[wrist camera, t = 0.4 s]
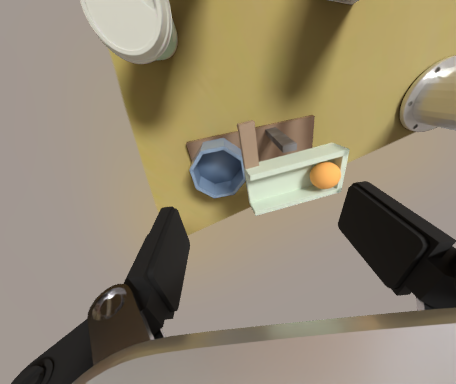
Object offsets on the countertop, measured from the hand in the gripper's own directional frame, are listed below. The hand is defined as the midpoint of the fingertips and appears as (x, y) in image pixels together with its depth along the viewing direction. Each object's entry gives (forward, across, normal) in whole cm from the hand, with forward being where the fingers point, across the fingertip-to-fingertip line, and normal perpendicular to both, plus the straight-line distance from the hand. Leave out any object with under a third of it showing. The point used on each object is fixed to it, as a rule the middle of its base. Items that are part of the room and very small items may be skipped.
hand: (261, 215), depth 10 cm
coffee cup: (+28, +10, -14) cm, 33 cm away
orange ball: (+14, -12, +7) cm, 20 cm away
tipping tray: (+19, -7, +4) cm, 20 cm away
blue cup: (+27, +4, +8) cm, 28 cm away
